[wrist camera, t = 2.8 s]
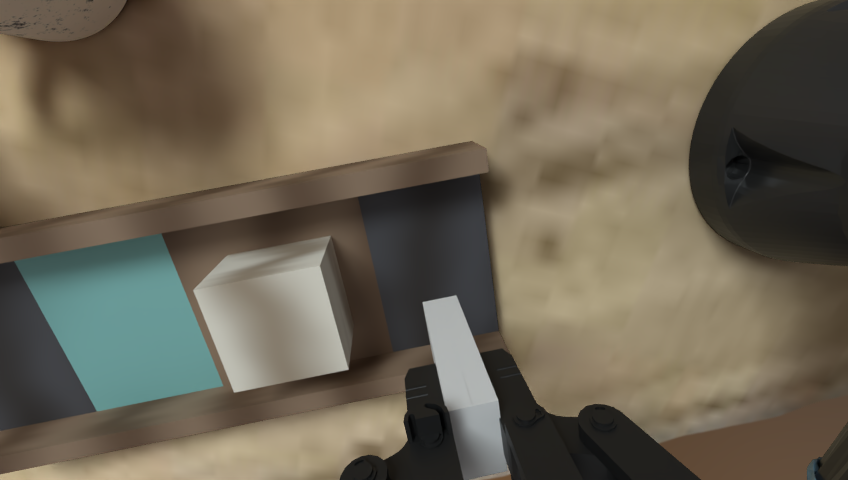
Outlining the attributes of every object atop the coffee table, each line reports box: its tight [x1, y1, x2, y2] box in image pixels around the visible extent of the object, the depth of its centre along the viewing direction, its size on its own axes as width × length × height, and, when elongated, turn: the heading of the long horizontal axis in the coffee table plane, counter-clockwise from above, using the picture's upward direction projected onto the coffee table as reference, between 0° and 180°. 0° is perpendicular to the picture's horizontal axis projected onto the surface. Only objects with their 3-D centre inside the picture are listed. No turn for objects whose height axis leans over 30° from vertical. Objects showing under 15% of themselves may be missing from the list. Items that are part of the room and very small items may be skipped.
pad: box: [14, 234, 223, 411], centre depth 25 cm, size 8×11×1 cm
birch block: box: [193, 236, 354, 393], centre depth 23 cm, size 6×6×4 cm
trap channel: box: [0, 141, 510, 474], centre depth 24 cm, size 32×13×4 cm, turn 100°
